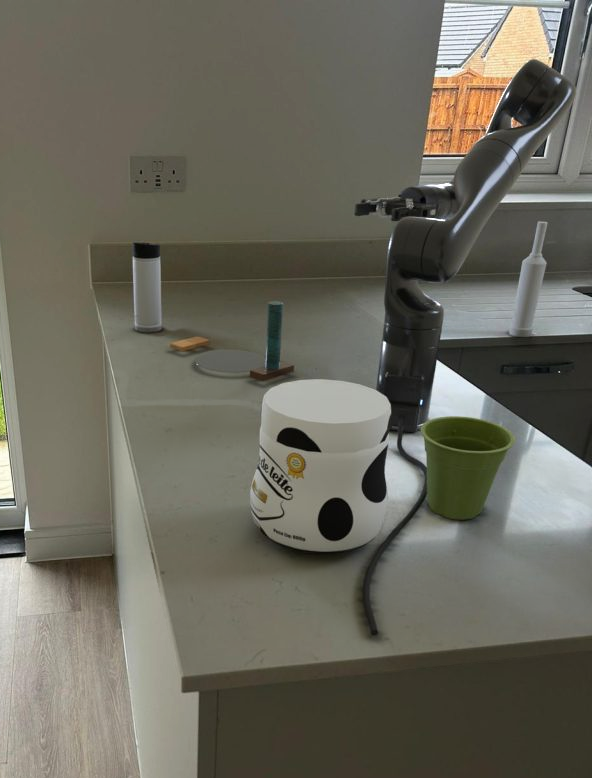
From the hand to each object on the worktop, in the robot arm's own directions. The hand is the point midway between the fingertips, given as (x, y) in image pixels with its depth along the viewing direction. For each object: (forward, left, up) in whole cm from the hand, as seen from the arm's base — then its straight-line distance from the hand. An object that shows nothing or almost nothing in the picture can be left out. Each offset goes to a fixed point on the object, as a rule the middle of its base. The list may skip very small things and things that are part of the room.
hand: (374, 212), depth 148 cm
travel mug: (+12, +51, -30) cm, 60 cm away
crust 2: (+1, +35, -30) cm, 46 cm away
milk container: (-70, -4, -30) cm, 77 cm away
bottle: (+37, -33, -30) cm, 58 cm away
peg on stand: (-14, +15, -30) cm, 36 cm away
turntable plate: (-8, +25, -30) cm, 40 cm away
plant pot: (-58, -21, -30) cm, 69 cm away
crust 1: (-3, +37, -30) cm, 48 cm away
